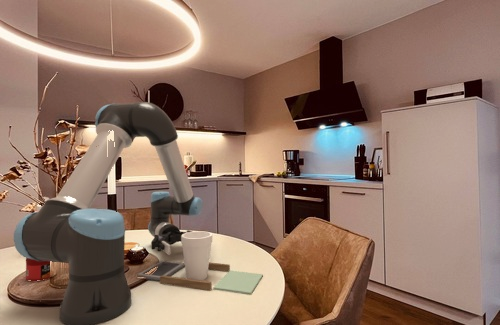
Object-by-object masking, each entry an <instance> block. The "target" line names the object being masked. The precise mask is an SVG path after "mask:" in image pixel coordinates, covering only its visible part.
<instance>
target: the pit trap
mask: <svg viewBox="0 0 500 325" xmlns="http://www.w3.org/2000/svg"><path fill="white" fill-rule="evenodd" d="M157 266H158V268H157V270H156V271H155V272H154V273H153V274H152V275H148V274H145V273H147V272H149V271H150V270H151V269H153V268H155V267H157ZM183 268H184V269H185V263H184V262H178V261H170V260H161V261H159V262H157V263H155V264H153V265H151V266H150V267H148V268H146V269H145V270H143V271H140V272H139V273H137V274H136V278H137V277H146V281H154V282H158V283H160V276H162V275H164V276H172V277H173V275H175V274H176V273H177V272H179V271H181V270H182V269H183Z"/></svg>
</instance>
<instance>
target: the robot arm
mask: <svg viewBox="0 0 500 325" xmlns="http://www.w3.org/2000/svg"><path fill="white" fill-rule="evenodd" d="M94 120H95V122H94V126H95V133H96V134H97V135H96V136H95V138H94V139H93V141H92V143H91V144H90V145H89V147H88V148H87V151H86V152H85V153H84V155H83V156H82V158H81V159H80V161H79V162H78V164H77V165H76V167H75V168H74V170H73V171H72V173H71V174H70V176H69V177H68V179H67V181H66V182H65V183H64V184H63V186H62V188H61V190H60V191H59V193H58V194H57V195H56V197H52V198H49V199H48V200H47V201H46V202H45V203H44V205H43V206H42V208H41V209H40V210H39V212H32V213H30V214H27V215H25V216H24V217H23V218H21V219H20V220H19V222H18V223H17V225H16V227H15V229H14V232H13V238H12V240H13V242H14V247H15V249H16V251H17V253H19V254H20V255H21V256H22V257H23V258H25V259H26V258H29V259H34V260H36V261H52V262H57V263H64V264H68V283H67V286H66V290H65V292H64V297H63V300H62V301H61V302H60V305H59V313H58V315H59V321H60V322H61V323H62V324H65V325H96V324H100V323H104V322H106V321H109V320H112V319H114V318H116V317H118V316H120V315H121V314H123V313H125V312H126V311H127V310H128V309H129V308H130V307H131V304H132V303H133V302H132V298H133V297H132V290H131V288H130V286H129V283H128V280H127V277H126V274H125V245H126V244H125V243H126V242H125V238H126V237H125V236H126V228H125V218H124V215H123V214H122V213H120V212H118V211H117V210H112V209H106V208H105V209H104V208H91V206H92V205H93V203H94V201H96V200H95V199H96V198H97V196H98V195H99V192H100V191H101V189H102V187H103V185H104V183H105V182H106V180H107V179H108V176H109V175H110V173H111V171H112V170H111V169H113V168H114V166H115V164H116V162H117V160H118V159H119V157H120V156H121V154H122V152H123V150H124V149H126V148H129V147H130V146H132V144H133V142H134V140H135V139H136V138H140V137H141V138H142V137H145V138H146V139H148V140H149V143H150V145H151V146H153V147H155V148H154V149H155V151H156V153H157V155H158V157H159V161H160V163H161V166H162V169H163V172H164V174H165V177H166V179H167V182H168V185H169V188H170V190H171V193H172V195H173V196H171V194H170V192H169V191H161V190H160V191H154V192H152V193H151V195H150V222H149V223H148V226H147V228H148V232H149V233H150V235H151V236H152V237H153V239H152V240H151V242H150V244H151V245H150V247H151V250H153V251H154V250H155V249H156V251H157V252H161V251H163V252H164V253H166V254H167V255H171V246H172V245H174V244H177V243H179V242H181V235H182V234H184V233H187V232H194V231H192V230H188V229H187V230H186V231H180V229H179V227H178V226H177V225H175V224H172V223H170V216H171V215H173V216H185V217H187V216H188V217H197V216H200V214H202V211H203V206H204V205H203V204H204V203H203V200H202V198H200V197H198V196H195V194H194V192H193V189H192V186H191V182H190V179H189V176H188V174H187V171H186V168H185V164H184V161H183V157H182V155H181V154H182V153H181V152H180V148H179V144H178V142H177V139H178V137H179V135H178V133H177V129H176V127H175V125H174V123H173V121H172V120H171V118H170V117H169V116H168V114H167V113H166V112H165V111H164V110H163V109H161V107H159V106H158V105H156V104H154V103H153V102H147V101H139V102H125V103H124V102H121V103H117V102H114V103H111V104H106V105H103V106H101V107H100V109H98V111H97V112H96V115H95V119H94ZM109 130H110V131H112V130H113V131H114V141H112V140H111V139H110V141H109V140H108V157H107V136H108V135H109V134H110V131H109ZM108 131H109V132H108ZM114 142H115V147H114ZM98 145H99V146H98ZM96 146H97V147H96ZM112 167H113V168H112ZM116 211H117V212H116Z"/></svg>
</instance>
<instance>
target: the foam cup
mask: <svg viewBox="0 0 500 325" xmlns="http://www.w3.org/2000/svg"><path fill="white" fill-rule="evenodd" d="M212 244H213V233H212V232H209V231H203V230H202V231H201V230H199V231H198V230H197V231H193V232H187V231H186V233H184V234H182V235H181V247H182V254H183V263H185V267H184V269H185V270H184V271H185V276H186V277H185V278H187V279H194V280H202V281H204V280H205V279H207V278H208V272H209V269H208V267H209V262H210V257H211V251H212Z"/></svg>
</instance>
